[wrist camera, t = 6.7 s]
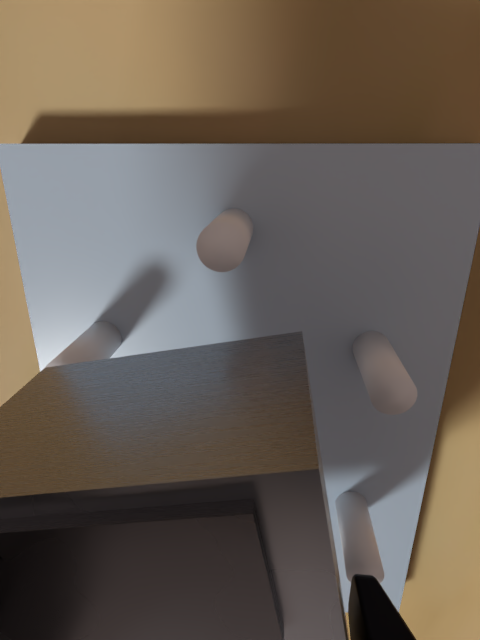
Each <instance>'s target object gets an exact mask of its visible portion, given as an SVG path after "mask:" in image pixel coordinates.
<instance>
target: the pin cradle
mask: <svg viewBox="0 0 480 640" xmlns="http://www.w3.org/2000/svg"><path fill="white" fill-rule="evenodd" d="M0 168H1V173H2V178H3V183H4V188H5V193H6V198H7V204H8V209H9V214H10V219H11V224H12V229H13V234H14V239H15V244H16V250H17V255H18V260H19V265H20V270H21V275H22V280H23V285H24V291H25V296H26V301H27V306H28V311H29V316H30V321H31V326H32V332H33V337H34V342H35V347H36V352H37V357H38V362H39V367H40V372H41V371H42V370H43V369H44V368H46V367H53V366H60V365H67V364H74V363H81V362H88V361H95V360H102V359H109V358H117V357H124V356H131V355H138V354H145V353H152V352H159V351H166V350H173V349H180V348H187V347H194V346H201V345H208V344H215V343H223V342H230V341H237V340H244V339H251V338H258V337H265V336H272V335H279V334H286V333H293V332H300V331H302V334H303V340H304V347H305V353H306V360H307V366H308V373H309V380H310V386H311V393H312V399H313V406H314V412H315V419H316V425H317V432H318V438H319V445H320V451H321V458H322V464H323V471H324V477H325V484H326V491H327V497H328V504H329V510H330V517H331V523H332V530H333V536H334V543H335V549H336V556H337V562H338V569H339V575H340V582H341V588H342V595H343V602H344V608H345V612H348V603H349V595H350V588H351V581H352V577H353V575H354V574H364V575H372V576H374V577H375V578H376V579H377V580H378V581H379V583H380V584H381V586H382V588H383V589H384V591H385V592H386V594H387V595H388V597H389V598H390V600H391V601H392V603H393V605H394V606H395V608H396V609H397V611H398V612H399V608H400V604H401V599H402V594H403V589H404V585H405V580H406V575H407V570H408V565H409V561H410V556H411V551H412V546H413V542H414V537H415V532H416V527H417V523H418V518H419V513H420V508H421V503H422V499H423V494H424V489H425V484H426V480H427V475H428V470H429V465H430V460H431V456H432V451H433V446H434V441H435V437H436V432H437V427H438V422H439V417H440V413H441V408H442V403H443V398H444V394H445V389H446V384H447V379H448V375H449V370H450V365H451V360H452V355H453V351H454V346H455V341H456V336H457V332H458V327H459V322H460V317H461V312H462V308H463V303H464V298H465V293H466V289H467V284H468V279H469V274H470V269H471V265H472V260H473V255H474V250H475V246H476V241H477V236H478V231H479V227H480V143H409V144H0Z"/></svg>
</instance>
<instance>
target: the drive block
mask: <svg viewBox="0 0 480 640" xmlns="http://www.w3.org/2000/svg"><path fill="white" fill-rule="evenodd" d="M0 640H349V634H348V628H347V621H346V615H345V608H344V602H343V595H342V588H341V582H340V575H339V569H338V562H337V556H336V549H335V543H334V536H333V530H332V523H331V517H330V510H329V504H328V497H327V491H326V484H325V477H324V471H323V464H322V458H321V451H320V445H319V438H318V432H317V425H316V419H315V412H314V406H313V399H312V393H311V386H310V380H309V373H308V366H307V360H306V353H305V347H304V340H303V334H302V331H300V332H293V333H286V334H279V335H272V336H265V337H258V338H251V339H244V340H237V341H230V342H223V343H215V344H208V345H201V346H194V347H187V348H180V349H173V350H166V351H159V352H152V353H145V354H138V355H131V356H124V357H117V358H109V359H102V360H95V361H88V362H81V363H74V364H67V365H60V366H53V367H46V368H44V369H43V370H42V371H41V372H40V373H38V374H37V375H36V376H35V377H34V378H33V379H32V380H31V381H29V382H28V383H27V384H26V385H25V386H24V387H23V388H21V389H20V390H19V391H18V392H17V393H16V394H15V395H14V396H12V397H11V398H10V399H9V400H8V401H7V402H6V403H4V404H3V405H2V406H1V407H0Z"/></svg>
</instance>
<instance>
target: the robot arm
mask: <svg viewBox="0 0 480 640" xmlns="http://www.w3.org/2000/svg"><path fill="white" fill-rule="evenodd" d="M348 614H349V626H350V637H351V640H416V639H415V637H414V635H413V634H412V632H411V631H410V629H409V628H408V626H407V625H406V623H405V622H404V620H403V618H402V617H401V615H400V614H399V612H398V611H397V609H396V608H395V606H394V605H393V603H392V601H391V600H390V598H389V597H388V595H387V594H386V592H385V591H384V589H383V588H382V586H381V584H380V583H379V581H378V580H377V579H376V578H375V577H374V576H372V575H364V574H354V575H353V577H352V581H351V588H350V595H349V603H348Z"/></svg>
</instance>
